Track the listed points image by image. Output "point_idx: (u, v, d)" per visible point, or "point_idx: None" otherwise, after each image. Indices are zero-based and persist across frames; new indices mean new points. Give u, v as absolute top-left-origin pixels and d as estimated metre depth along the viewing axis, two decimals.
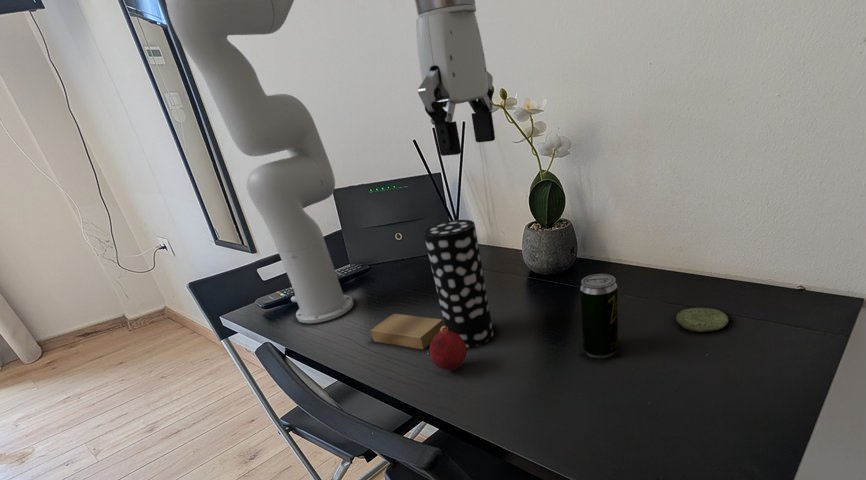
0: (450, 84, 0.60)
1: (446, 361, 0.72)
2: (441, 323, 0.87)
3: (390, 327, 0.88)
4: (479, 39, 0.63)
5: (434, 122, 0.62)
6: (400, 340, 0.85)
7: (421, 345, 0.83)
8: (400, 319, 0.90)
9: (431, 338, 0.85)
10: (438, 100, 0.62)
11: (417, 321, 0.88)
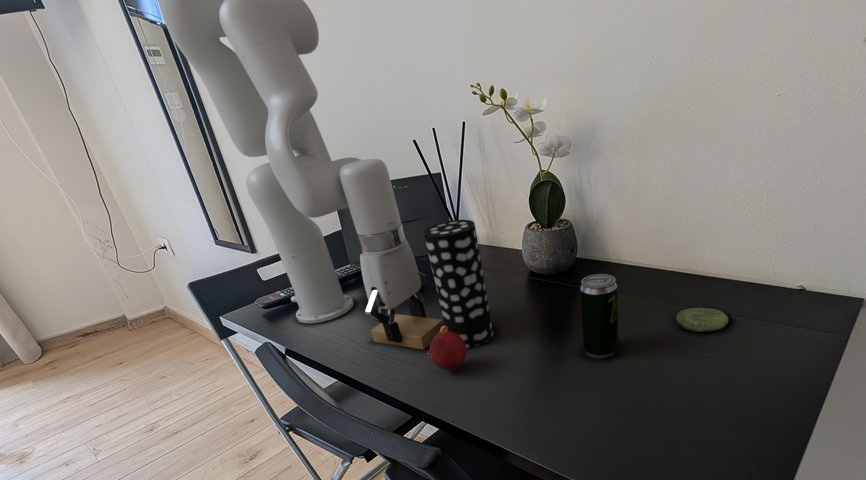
0: (386, 299, 0.79)
1: (446, 361, 0.72)
2: (441, 323, 0.87)
3: None
4: (411, 256, 0.83)
5: None
6: None
7: (421, 345, 0.83)
8: (400, 319, 0.90)
9: (431, 338, 0.85)
10: (381, 307, 0.82)
11: (417, 321, 0.88)
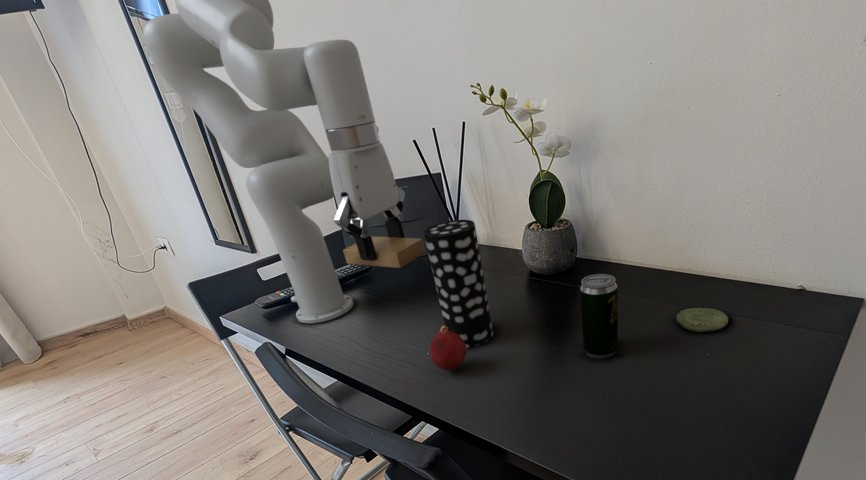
0: (358, 207, 0.71)
1: (446, 361, 0.72)
2: (421, 242, 0.79)
3: None
4: (387, 163, 0.75)
5: (353, 236, 0.75)
6: None
7: (398, 262, 0.75)
8: (376, 240, 0.82)
9: (409, 257, 0.77)
10: (353, 219, 0.74)
11: (394, 241, 0.80)
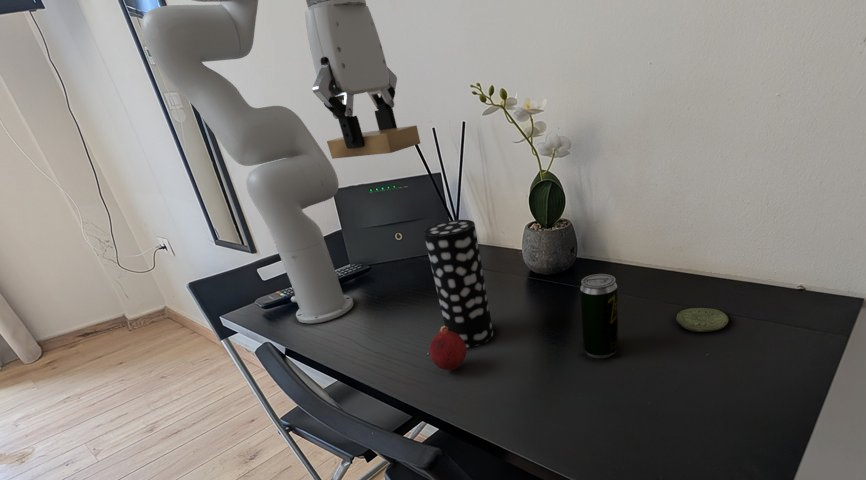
0: (340, 75, 0.62)
1: (446, 361, 0.72)
2: (415, 129, 0.69)
3: None
4: (374, 32, 0.65)
5: (336, 116, 0.65)
6: (363, 147, 0.68)
7: (388, 146, 0.65)
8: (365, 133, 0.72)
9: (401, 143, 0.67)
10: (336, 94, 0.64)
11: (385, 130, 0.70)
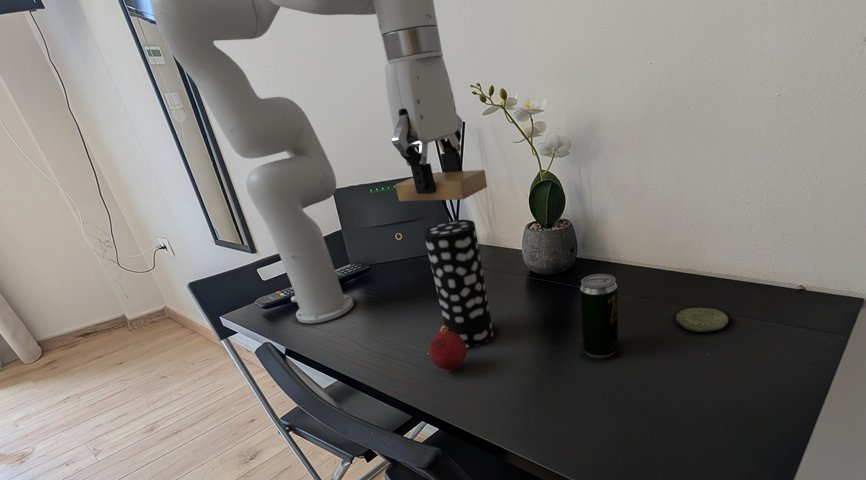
0: (418, 126, 0.63)
1: (446, 361, 0.72)
2: (483, 174, 0.70)
3: None
4: (447, 81, 0.66)
5: (410, 164, 0.66)
6: (434, 192, 0.69)
7: (461, 193, 0.66)
8: None
9: (472, 188, 0.68)
10: (411, 143, 0.65)
11: (453, 174, 0.71)
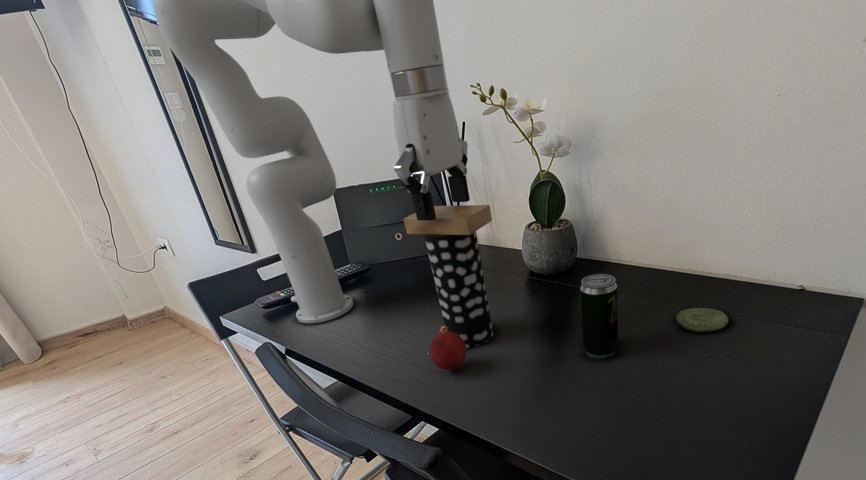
0: (424, 160, 0.65)
1: (446, 361, 0.72)
2: (488, 209, 0.73)
3: None
4: (452, 115, 0.68)
5: (411, 192, 0.67)
6: (441, 227, 0.71)
7: (467, 229, 0.69)
8: (437, 208, 0.76)
9: (477, 224, 0.71)
10: (414, 172, 0.67)
11: (459, 208, 0.74)
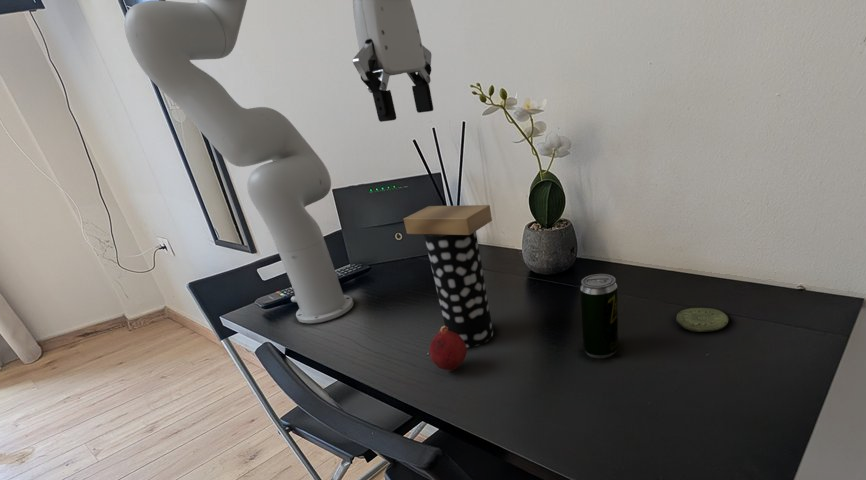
0: (383, 56, 0.67)
1: (446, 361, 0.72)
2: (488, 209, 0.73)
3: (427, 214, 0.74)
4: (413, 17, 0.71)
5: (371, 90, 0.70)
6: (441, 227, 0.71)
7: (467, 229, 0.69)
8: (437, 208, 0.76)
9: (477, 224, 0.71)
10: (374, 71, 0.70)
11: (459, 208, 0.74)
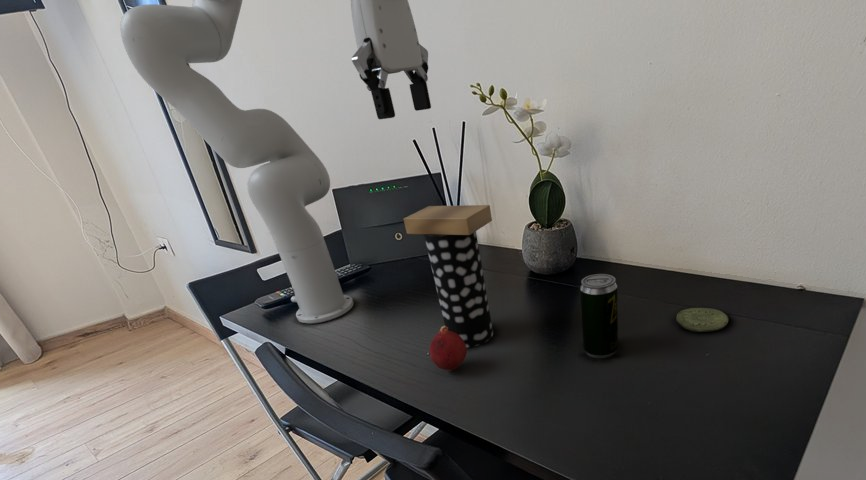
0: (381, 54, 0.68)
1: (446, 361, 0.72)
2: (488, 209, 0.73)
3: (427, 214, 0.74)
4: (410, 16, 0.72)
5: (370, 88, 0.71)
6: (441, 227, 0.71)
7: (467, 229, 0.69)
8: (437, 208, 0.76)
9: (477, 224, 0.71)
10: (373, 69, 0.70)
11: (459, 208, 0.74)
